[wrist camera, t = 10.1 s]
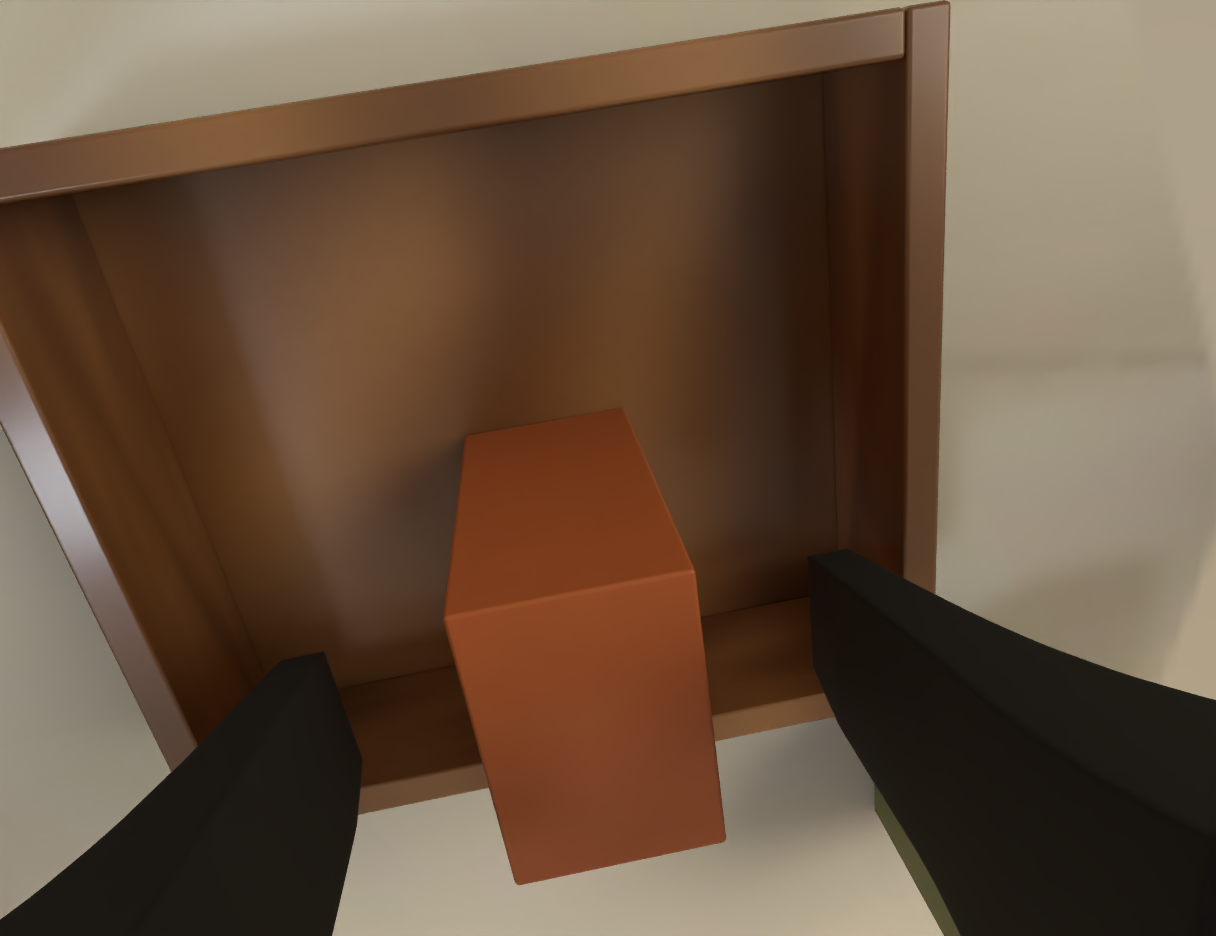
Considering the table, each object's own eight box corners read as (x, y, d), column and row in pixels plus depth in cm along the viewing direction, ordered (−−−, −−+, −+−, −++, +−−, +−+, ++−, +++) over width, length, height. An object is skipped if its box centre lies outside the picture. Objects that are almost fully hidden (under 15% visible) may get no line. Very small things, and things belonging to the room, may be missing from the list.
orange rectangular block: (624, 406, 15) (695, 569, 9) (652, 607, 17) (727, 843, 11) (464, 435, 15) (441, 618, 9) (510, 635, 16) (515, 887, 11)
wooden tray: (843, 30, 13) (952, -2, 10) (856, 595, 18) (934, 697, 15) (33, 157, 12) (-130, 167, 9) (262, 712, 17) (206, 847, 14)
